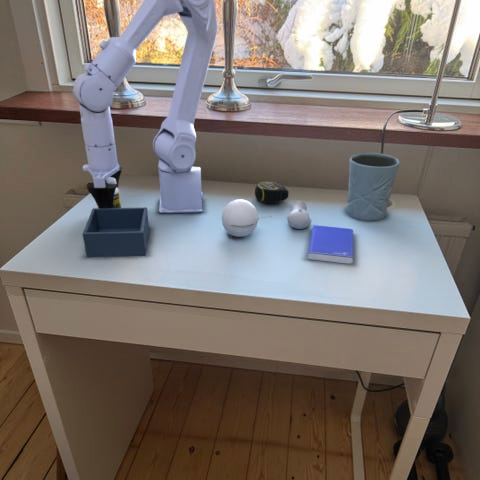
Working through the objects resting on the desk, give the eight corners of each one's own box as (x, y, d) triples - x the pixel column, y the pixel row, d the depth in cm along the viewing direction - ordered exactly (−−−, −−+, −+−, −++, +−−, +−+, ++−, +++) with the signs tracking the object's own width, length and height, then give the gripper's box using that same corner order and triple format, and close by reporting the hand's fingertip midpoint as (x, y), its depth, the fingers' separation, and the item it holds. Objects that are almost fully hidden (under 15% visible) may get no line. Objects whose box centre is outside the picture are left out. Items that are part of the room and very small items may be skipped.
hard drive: (353, 256, 84) (353, 228, 94) (308, 251, 86) (313, 224, 96) (351, 264, 85) (352, 235, 95) (307, 259, 87) (312, 231, 96)
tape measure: (289, 203, 109) (290, 187, 107) (264, 208, 106) (265, 192, 104) (273, 193, 114) (274, 178, 111) (249, 198, 111) (249, 182, 109)
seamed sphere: (219, 242, 91) (219, 207, 87) (223, 226, 97) (223, 192, 93) (270, 245, 91) (272, 209, 87) (271, 229, 97) (273, 195, 93)
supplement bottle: (117, 224, 97) (111, 184, 93) (96, 222, 98) (89, 182, 93) (126, 215, 101) (121, 177, 96) (106, 213, 102) (100, 175, 97)
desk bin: (149, 228, 96) (147, 207, 93) (145, 255, 87) (143, 232, 84) (96, 230, 95) (92, 208, 92) (86, 257, 86) (82, 233, 83)
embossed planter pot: (396, 220, 102) (408, 165, 95) (353, 224, 100) (363, 168, 93) (374, 203, 110) (384, 151, 103) (334, 206, 108) (342, 153, 101)
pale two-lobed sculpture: (305, 237, 97) (282, 228, 97) (309, 221, 103) (288, 212, 103) (313, 220, 94) (290, 210, 94) (317, 204, 100) (295, 195, 100)
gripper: (85, 133, 96) (95, 197, 104) (71, 154, 84) (84, 224, 92) (120, 133, 97) (128, 196, 105) (111, 154, 85) (121, 223, 93)
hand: (110, 209), depth 99 cm, fingers open, 7 cm apart
